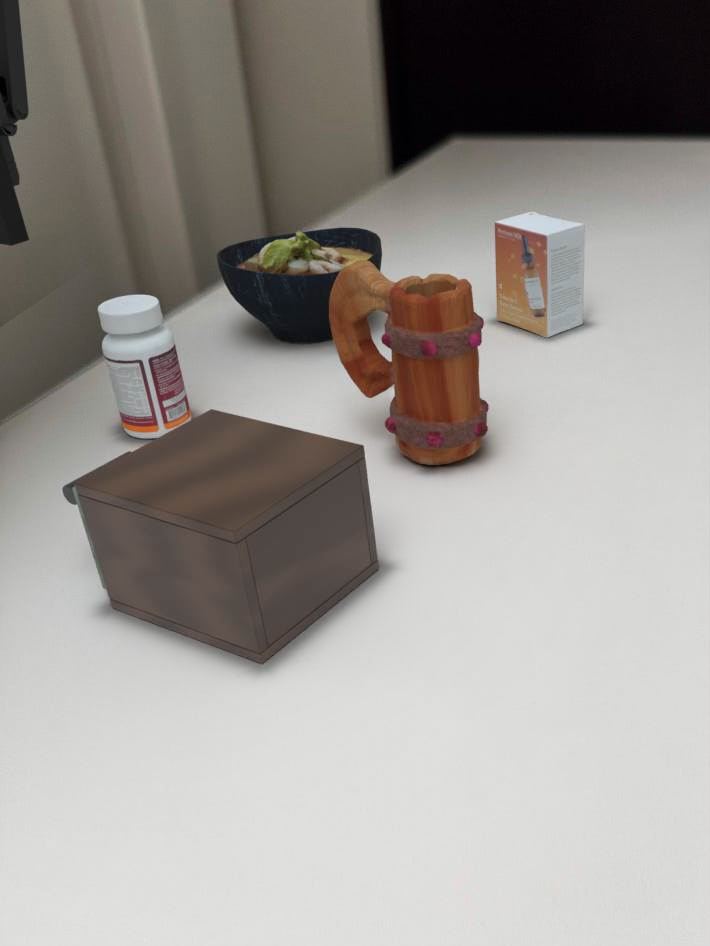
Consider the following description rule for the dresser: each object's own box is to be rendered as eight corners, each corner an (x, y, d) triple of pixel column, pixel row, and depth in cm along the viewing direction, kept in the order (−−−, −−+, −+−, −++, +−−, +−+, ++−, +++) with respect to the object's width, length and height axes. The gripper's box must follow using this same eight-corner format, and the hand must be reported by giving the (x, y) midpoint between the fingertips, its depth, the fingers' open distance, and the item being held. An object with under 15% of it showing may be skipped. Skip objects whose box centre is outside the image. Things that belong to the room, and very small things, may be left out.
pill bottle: (188, 407, 100) (161, 287, 93) (196, 433, 95) (168, 308, 88) (121, 419, 98) (89, 298, 91) (126, 446, 93) (93, 320, 87)
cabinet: (111, 608, 72) (73, 482, 67) (236, 525, 81) (211, 408, 75) (262, 664, 66) (233, 531, 60) (379, 568, 75) (364, 445, 69)
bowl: (417, 333, 113) (409, 237, 107) (268, 372, 106) (251, 271, 100) (347, 294, 125) (336, 206, 119) (210, 326, 118) (191, 234, 112)
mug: (514, 445, 90) (508, 266, 81) (458, 485, 84) (446, 297, 75) (380, 412, 97) (362, 243, 88) (322, 446, 91) (295, 271, 83)
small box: (496, 321, 115) (492, 221, 109) (533, 308, 118) (531, 209, 111) (547, 338, 110) (546, 234, 103) (585, 324, 113) (585, 222, 106)
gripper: (-195, -196, 54) (-38, 273, 67) (15, -192, 62) (115, 222, 76) (-273, -184, 57) (-109, 260, 71) (-64, -183, 66) (46, 212, 80)
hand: (7, 240), depth 73 cm, fingers closed
